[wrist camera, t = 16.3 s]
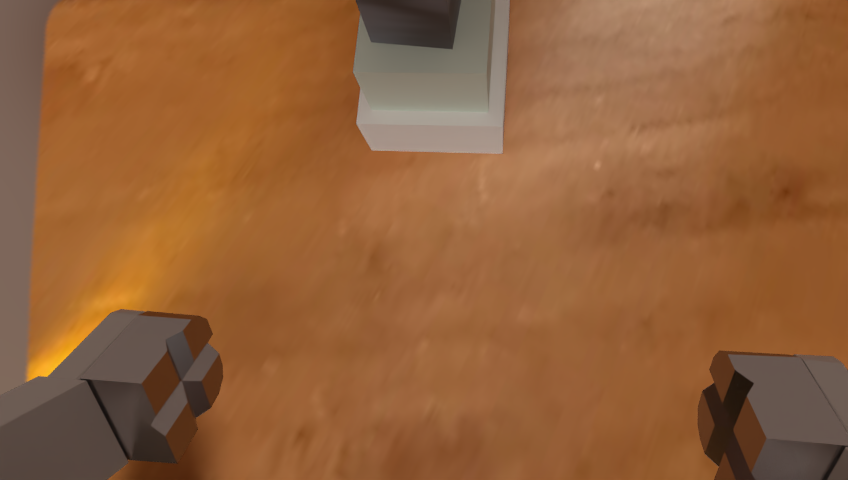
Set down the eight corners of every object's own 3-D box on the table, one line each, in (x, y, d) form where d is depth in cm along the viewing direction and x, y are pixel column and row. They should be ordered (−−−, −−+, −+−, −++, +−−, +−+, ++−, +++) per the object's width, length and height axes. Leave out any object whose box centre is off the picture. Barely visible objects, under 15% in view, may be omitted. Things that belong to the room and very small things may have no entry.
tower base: (508, 36, 43) (510, -6, 38) (502, 155, 41) (503, 126, 36) (384, 36, 44) (371, -4, 40) (372, 151, 42) (356, 124, 37)
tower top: (495, 6, 38) (494, -46, 33) (488, 112, 36) (486, 73, 32) (383, 8, 39) (367, -43, 34) (371, 110, 38) (352, 72, 33)
